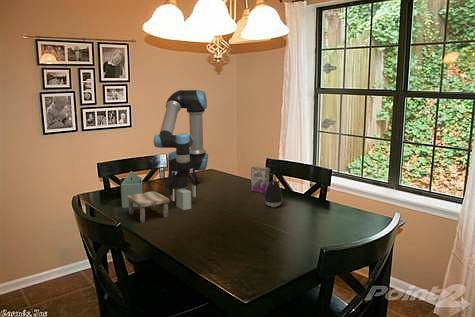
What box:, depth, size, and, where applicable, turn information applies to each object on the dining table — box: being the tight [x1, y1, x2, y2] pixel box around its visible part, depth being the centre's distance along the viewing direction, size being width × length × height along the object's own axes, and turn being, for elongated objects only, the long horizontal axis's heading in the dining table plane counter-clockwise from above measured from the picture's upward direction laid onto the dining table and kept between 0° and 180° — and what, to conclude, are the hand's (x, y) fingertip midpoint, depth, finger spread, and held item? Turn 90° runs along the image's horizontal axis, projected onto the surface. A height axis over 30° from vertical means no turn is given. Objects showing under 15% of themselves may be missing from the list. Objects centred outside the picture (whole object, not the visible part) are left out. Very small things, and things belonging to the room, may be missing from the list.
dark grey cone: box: [264, 180, 283, 208], centre depth 233 cm, size 10×10×15 cm
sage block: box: [175, 187, 192, 211], centre depth 229 cm, size 5×8×10 cm, turn 36°
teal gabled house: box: [120, 170, 144, 209], centre depth 232 cm, size 16×8×20 cm, turn 150°
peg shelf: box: [127, 190, 170, 223], centre depth 216 cm, size 16×18×10 cm
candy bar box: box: [250, 165, 270, 194], centre depth 261 cm, size 11×5×16 cm, turn 58°
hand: (183, 198), depth 229 cm, fingers open, 13 cm apart
